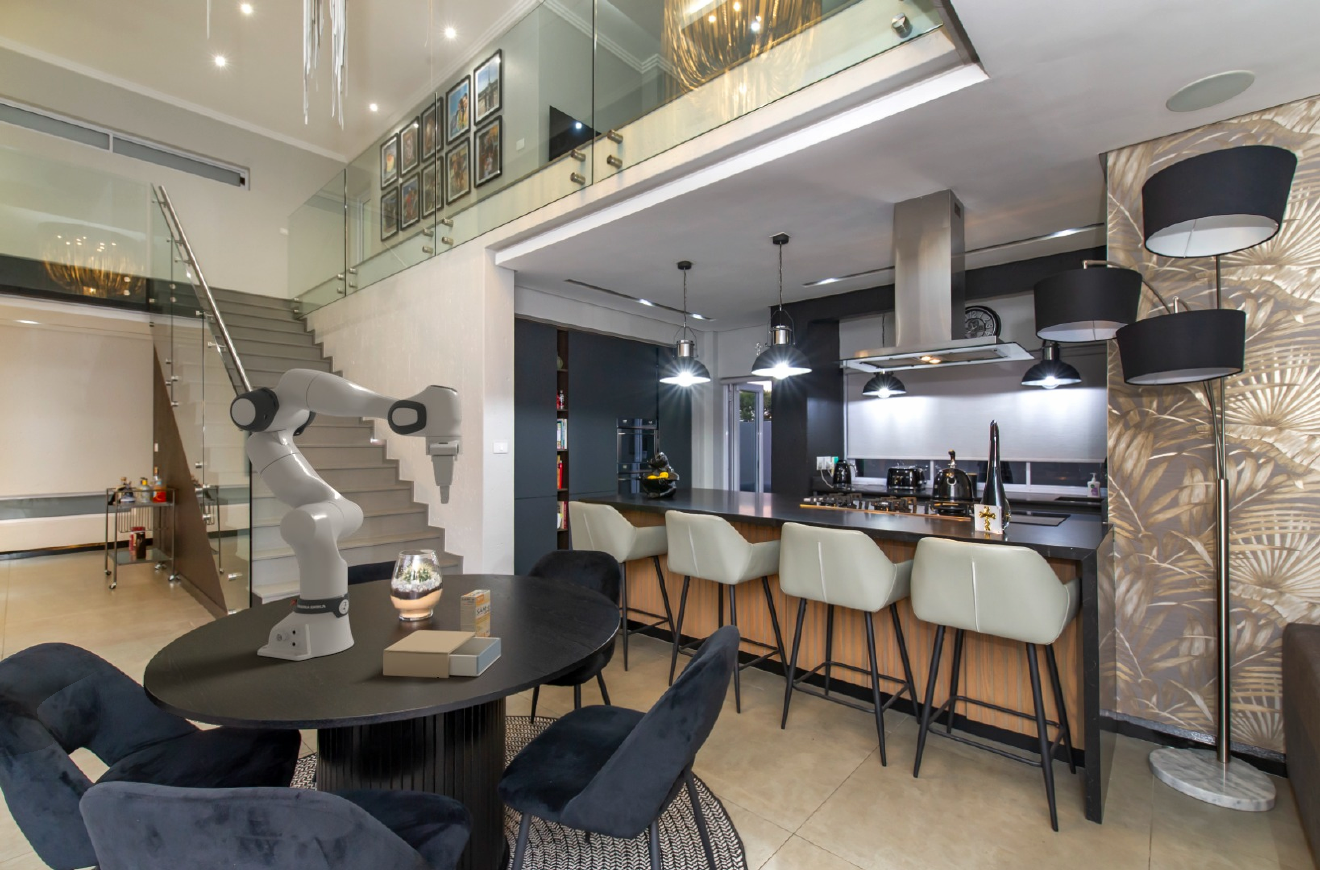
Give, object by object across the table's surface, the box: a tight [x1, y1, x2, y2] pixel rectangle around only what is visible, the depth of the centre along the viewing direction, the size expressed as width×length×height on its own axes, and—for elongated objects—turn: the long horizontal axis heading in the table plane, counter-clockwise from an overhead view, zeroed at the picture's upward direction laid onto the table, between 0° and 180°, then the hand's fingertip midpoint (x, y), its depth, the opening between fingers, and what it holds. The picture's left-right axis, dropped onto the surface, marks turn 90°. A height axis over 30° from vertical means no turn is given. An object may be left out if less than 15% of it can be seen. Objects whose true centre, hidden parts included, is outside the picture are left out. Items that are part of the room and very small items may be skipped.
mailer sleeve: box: [382, 629, 476, 679], centre depth 140 cm, size 16×15×6 cm
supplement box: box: [460, 589, 491, 638], centre depth 158 cm, size 8×5×13 cm, turn 168°
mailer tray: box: [449, 637, 502, 677], centre depth 139 cm, size 15×13×4 cm
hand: (445, 502), depth 146 cm, fingers open, 8 cm apart
